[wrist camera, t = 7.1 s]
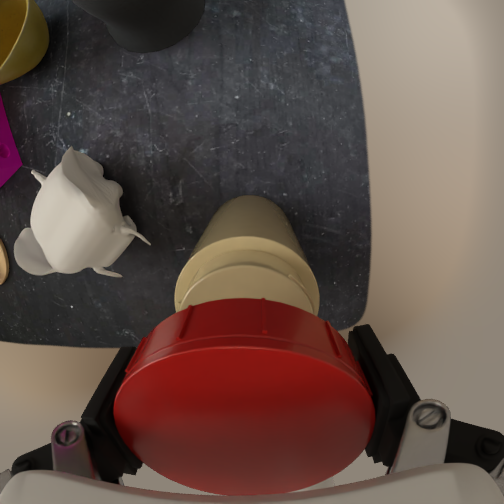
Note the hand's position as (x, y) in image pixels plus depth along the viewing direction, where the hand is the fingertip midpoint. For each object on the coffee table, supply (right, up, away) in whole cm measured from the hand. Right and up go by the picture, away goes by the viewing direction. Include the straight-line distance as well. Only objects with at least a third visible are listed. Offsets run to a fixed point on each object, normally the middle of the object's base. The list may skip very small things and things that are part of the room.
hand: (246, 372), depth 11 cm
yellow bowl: (-23, +26, +9) cm, 35 cm away
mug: (-9, +27, +8) cm, 30 cm away
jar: (0, +6, +15) cm, 16 cm away
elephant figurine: (-14, +9, +15) cm, 22 cm away
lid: (0, -1, -3) cm, 3 cm away
